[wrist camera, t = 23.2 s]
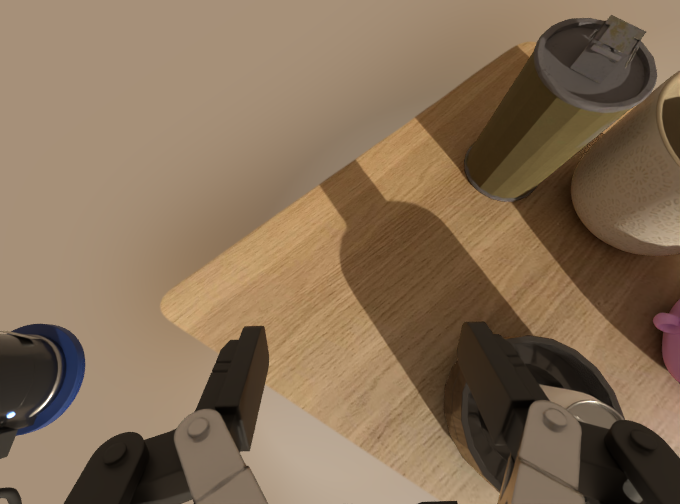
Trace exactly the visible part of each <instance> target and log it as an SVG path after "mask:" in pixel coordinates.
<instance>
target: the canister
mask: <svg viewBox="0 0 680 504" xmlns="http://www.w3.org/2000/svg"><path fill="white" fill-rule="evenodd" d="M645 33H646V31H644V30H641V29H639V28H637V27H635V26H633V25H631V24H629V23H627V22H625V21H623V20H621V19H619V18H617V17H615V16H613V15H611V16H610V17H609V19H608V20H607V21H602V20H597V19H592V18H579V19H578V18H576V19H568V20H565V21H562V22H559V23H557V24H555V25H553V26H551V27H550V28H549V29H548V30H547V31H546V32H545V33H544V34H542V35H541V37H540V38H539V40H538V41H537V44H536V46H535V49H534V52H533V53H532V55H531V56H530V58H529V60H528V61H527V63H526V64H525V66H524V67H523V69H522V70H521V72H520V74H519V75H518V77H517V78H516V80H515V81H514V83H513V84H512V86H511V88H510V89H509V91H508V92H507V94H506V95H505V97H504V99H503V100H502V102H501V103H500V105H499V106H498V108H497V109H496V111H495V113H494V114H493V116H492V117H491V119H490V120H489V122H488V124H487V125H486V127H485V128H484V130H483V131H482V133H481V134H480V136H479V138H478V139H477V141H476V142H475V143H474V144H473V145H472V146H471V147H470V148H469V150H468V151H467V153H466V156H465V160H464V164H465V173H466V175H467V177H468V179H469V181H470V183H471V184H472V185H473V187H474V188H476V189H477V190H478V191H479V192H480V193H482V194H484V195H486V196H487V197H489V198H491V199H495V200H498V201H504V202H506V201H515V200H520V199H522V198H524V197H526V196H528V195H529V194H530V193H532V192H533V191H534V190H535V188H536V187H537V185H539V184H540V183H541V182H542V181H543V180H545V179H546V178H547V177H548V176H549V175H551V174H552V173H553V172H554V171H556V170H557V169H558V168H559V167H560V166H562V165H563V164H564V163H565V162H566V161H568V160H569V159H570V158H571V157H573V156H574V155H575V154H576V153H577V152H579V151H580V150H581V149H582V148H583V147H585V146H586V145H587V144H588V143H590V142H591V141H592V140H593V139H594V138H596V137H597V136H598V135H599V134H600V133H602V132H603V131H604V130H605V129H607V128H608V127H609V126H610V125H611V124H613V123H614V122H615V121H616V120H617V119H619V118H620V117H621V116H622V115H624V114H625V113H626V112H627V111H628V110H630V109H631V108H633V107H634V106H636V105H638V104H640V103H641V102H643V101H644V100H645V99H646V98H647V97H648V96H649V95H650V93H651V92H652V90H653V88H654V86H655V84H656V79H657V70H656V65H655V61H654V58H653V56H652V55H651V53H650V52H649V51H648V49H647V48H646V47H645V45H644V44H643V43H642V42H641V39H642V37H643V36H644V34H645Z"/></svg>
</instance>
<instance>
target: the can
mask: <svg viewBox="0 0 680 504" xmlns="http://www.w3.org/2000/svg"><path fill="white" fill-rule="evenodd" d="M539 385H540V384H539ZM540 387H541V388H542V390H543V391H544V393H545V394H546V396H547V397H548V399H549V400H550V401H551V402H554V403H557V404H559V405H561V406H562V407H564V408H565V409H567V410H568V411H569V412H570V413H572V414H573V415H574V417H575V418H576V419H577V420H578V421H581V422H584V423H588V424H592V425H596V426H599V427H603V428H607V429H610V428H611V426H612V424H613V423H614V422H616V421H619V420H624V418H623V417H622V416H621V415H620V414H619V413H618V412H617V411H616V410H614V409H613V408H612V407H610V406H608V405H607V404H605V403H602V402H600V401H599V400H598V399H596V398H594V397H592V396H590V395H588V394H585V393H582V392H577V391H573V390H567V389H562V388H557V387H551V386H545V385H540Z"/></svg>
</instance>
